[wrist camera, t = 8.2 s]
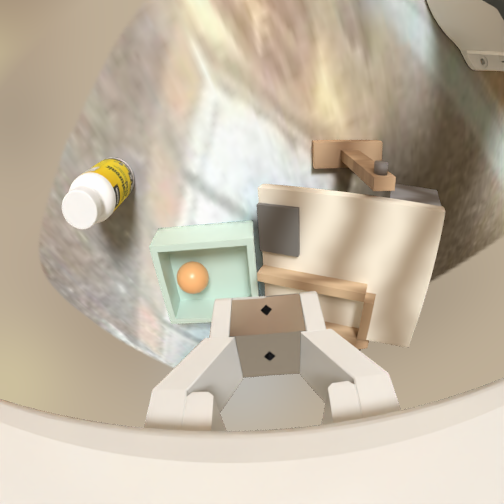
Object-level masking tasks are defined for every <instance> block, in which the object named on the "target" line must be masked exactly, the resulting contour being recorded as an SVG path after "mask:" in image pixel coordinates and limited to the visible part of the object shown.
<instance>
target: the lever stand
mask: <svg viewBox="0 0 504 504" xmlns="http://www.w3.org/2000/svg"><path fill="white" fill-rule="evenodd" d="M382 143H383V142H381V141H379V140H314V141H312V153H313V167H314V169H321V168H350V169H351V170H352V171H353V172H354V173H355V174H356V175H357V176H358V177H359V178H360V179H361V180H363V181H364V182H365V183H366V184H367V185H368V186H369V187H370V188H371V189H372V190H373V191H395V181H396V177H395V176H394V175H392V174H391V173H390V172H388V162H386V161H382ZM368 343H369V340H366V341H365V340H360V339H357V342H356V345H353V346H354V347H356V348H357V349H358V350H359V351H360V350H361V349H365V348H367V346H368Z"/></svg>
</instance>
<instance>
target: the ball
mask: <svg viewBox="0 0 504 504" xmlns="http://www.w3.org/2000/svg"><path fill="white" fill-rule="evenodd" d="M208 282H209V274H208V271H207V269H206V268H205V267H204V266H203V265H202V264H201V263H198V262H194V261H191V262H187V263H185V264H183V265H182V266H181V267H180V268H179V270H178V272H177V283H178V285H179V287H180V288H181V289H182V290H183V291H184V292H186V293H189V294H197V293H200V292H201V291H203V290H204V289H205V288H206V287H207V285H208Z"/></svg>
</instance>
